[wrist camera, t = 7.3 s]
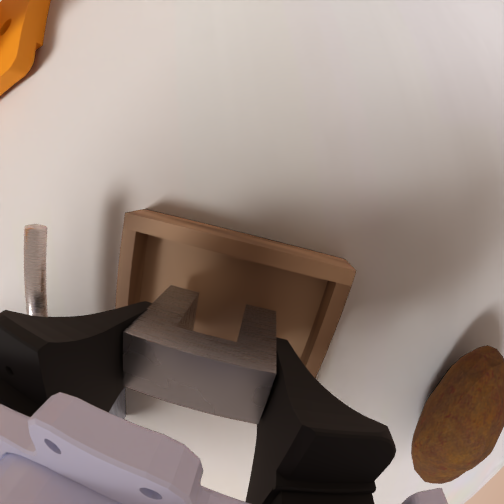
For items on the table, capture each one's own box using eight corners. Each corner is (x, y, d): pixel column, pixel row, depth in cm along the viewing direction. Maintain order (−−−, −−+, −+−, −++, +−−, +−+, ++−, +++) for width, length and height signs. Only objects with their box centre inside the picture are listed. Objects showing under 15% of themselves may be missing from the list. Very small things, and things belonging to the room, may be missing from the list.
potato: (390, 456, 17) (411, 521, 10) (402, 344, 15) (455, 421, 8) (460, 430, 16) (491, 483, 9) (487, 315, 14) (551, 364, 7)
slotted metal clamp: (165, 328, 14) (123, 385, 9) (170, 285, 13) (123, 332, 8) (263, 354, 14) (258, 424, 9) (276, 311, 13) (276, 373, 8)
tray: (129, 346, 16) (114, 363, 14) (144, 209, 14) (125, 212, 12) (296, 392, 16) (297, 415, 14) (345, 259, 14) (356, 271, 12)
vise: (55, 386, 18) (15, 427, 12) (46, 206, 15) (-27, 218, 9) (126, 422, 18) (93, 475, 12) (135, 230, 14) (63, 255, 9)
